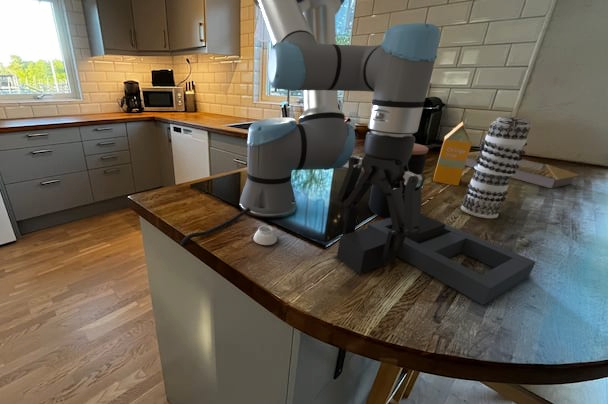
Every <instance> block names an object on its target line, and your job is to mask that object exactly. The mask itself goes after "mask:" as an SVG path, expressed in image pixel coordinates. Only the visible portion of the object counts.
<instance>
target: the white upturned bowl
mask: <svg viewBox="0 0 608 404" xmlns="http://www.w3.org/2000/svg"><path fill="white" fill-rule="evenodd" d="M273 229H274V228H273V227H272V226H271V225H261V226H258V229H256V231H255V233H254V235H253V241H254V242H255V243H256V244H259V245H262V246H271V245H274V244H275V243H276V242H277V240H278V237H277V235H276V233H275V231H274V230H273Z"/></svg>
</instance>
